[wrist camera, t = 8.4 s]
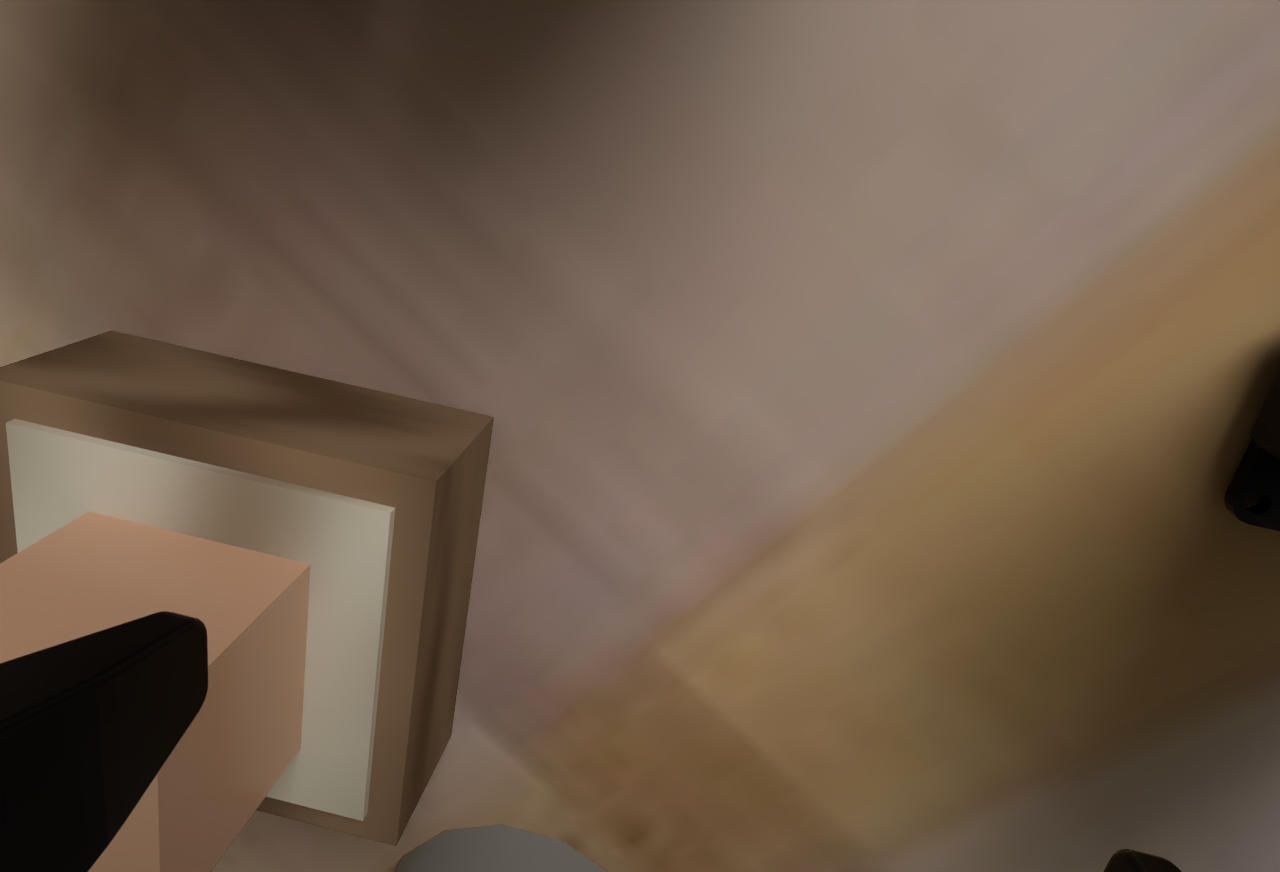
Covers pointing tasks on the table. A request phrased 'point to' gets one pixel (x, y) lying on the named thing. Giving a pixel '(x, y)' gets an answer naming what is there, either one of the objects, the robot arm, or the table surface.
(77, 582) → the cube
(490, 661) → the table surface
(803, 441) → the table surface
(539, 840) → the cup
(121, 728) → the robot arm
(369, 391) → the pedestal
